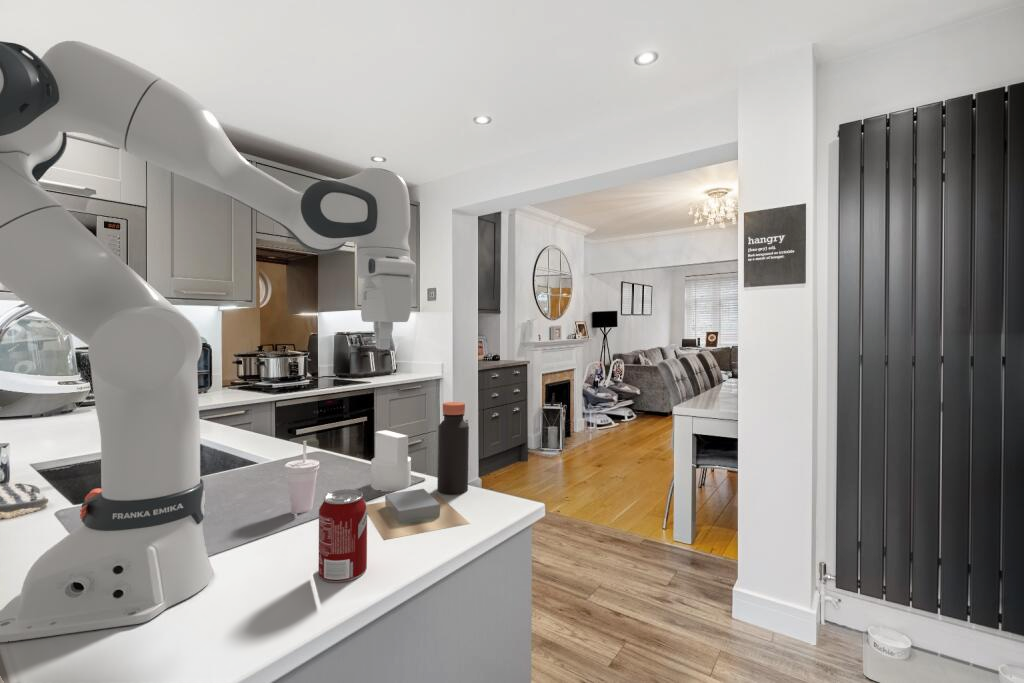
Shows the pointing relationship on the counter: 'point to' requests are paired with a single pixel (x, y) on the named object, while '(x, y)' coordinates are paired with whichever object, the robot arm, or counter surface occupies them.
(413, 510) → the tile
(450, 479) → the bottle
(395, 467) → the cylinder with rectangular tab
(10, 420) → the counter surface
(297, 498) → the smoothie
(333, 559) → the soda can
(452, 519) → the mat
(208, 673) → the counter surface
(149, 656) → the counter surface
